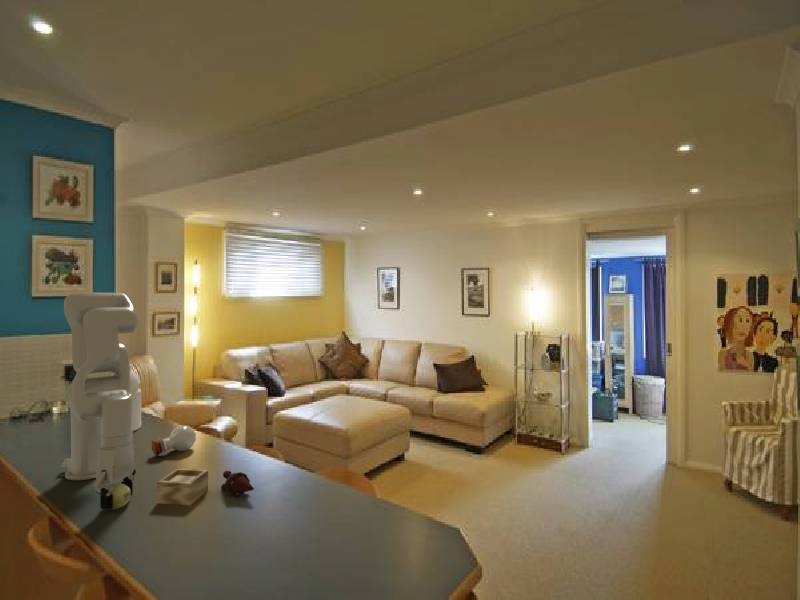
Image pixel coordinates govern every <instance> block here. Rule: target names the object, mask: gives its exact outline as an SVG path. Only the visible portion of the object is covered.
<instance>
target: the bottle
mask: <svg viewBox="0 0 800 600" xmlns="http://www.w3.org/2000/svg"><path fill="white" fill-rule="evenodd" d="M132 369H133V365H132V364H131V363H130V395H131V397H132V400H133V432H134V431H137V430H139V429H140V428H141V427H142V389H141V388H140V387H139V385H140V384H142V381H141V379H140V377H139V376H138V374H137V373H136V372H135V371H134V370H132ZM111 375H113V372H112V373H110V375H109V376H111Z"/></svg>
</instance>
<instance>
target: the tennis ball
mask: <svg viewBox="0 0 800 600" xmlns="http://www.w3.org/2000/svg"><path fill="white" fill-rule="evenodd" d="M111 494H113V508H112V509H111V510H112V511H113V510H114V511H115V510H118V509H120V508H122V507H125V506H126V505H127V503H128V502H129V501H130V499H131V496H132V495H131V491H130V488H129V487H128V486H127V485H125V484H121V482H120V483H115V484H114V486H113V489H112V492H111Z"/></svg>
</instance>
